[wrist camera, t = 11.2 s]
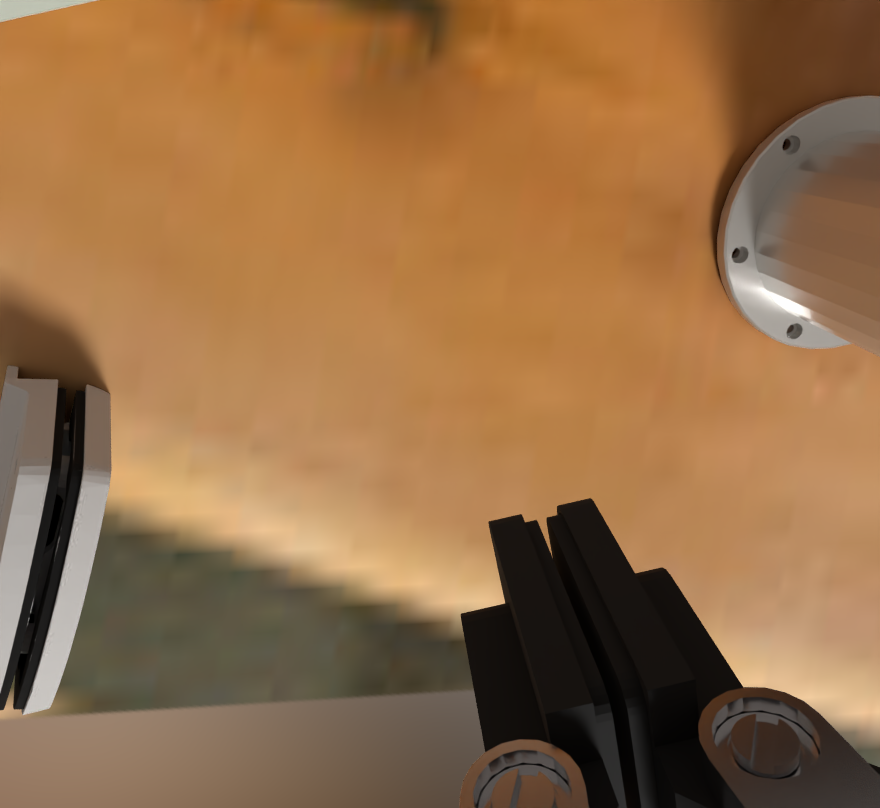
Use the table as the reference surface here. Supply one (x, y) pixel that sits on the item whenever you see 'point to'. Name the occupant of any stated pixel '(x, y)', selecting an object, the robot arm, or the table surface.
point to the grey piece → (47, 527)
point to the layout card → (33, 7)
